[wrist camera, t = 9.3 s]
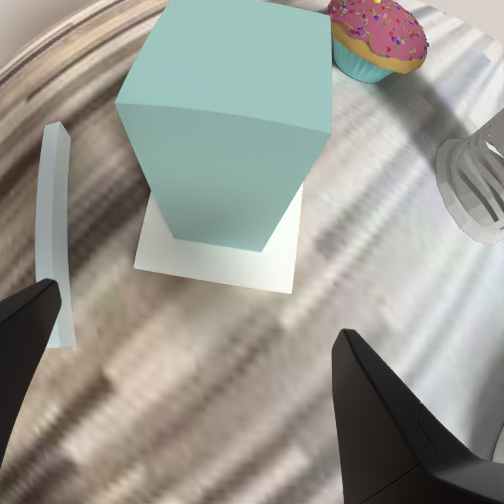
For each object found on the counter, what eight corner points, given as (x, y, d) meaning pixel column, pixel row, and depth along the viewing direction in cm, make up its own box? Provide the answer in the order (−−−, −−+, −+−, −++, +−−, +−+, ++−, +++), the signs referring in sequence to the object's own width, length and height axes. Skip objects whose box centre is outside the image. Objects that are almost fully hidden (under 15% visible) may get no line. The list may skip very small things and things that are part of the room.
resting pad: (290, 293, 18) (291, 293, 18) (134, 268, 18) (133, 267, 17) (304, 155, 20) (305, 153, 20) (168, 134, 20) (168, 131, 20)
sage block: (261, 252, 18) (331, 133, 7) (173, 238, 18) (114, 103, 6) (272, 174, 20) (330, 15, 8) (191, 161, 19) (174, -6, 8)
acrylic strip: (76, 345, 16) (60, 347, 14) (60, 347, 16) (43, 348, 14) (71, 137, 19) (60, 121, 17) (56, 141, 19) (44, 125, 17)
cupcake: (298, 67, 22) (340, -58, 11) (328, 23, 24) (366, -74, 13) (394, 117, 22) (475, 15, 11) (408, 64, 24) (466, -21, 13)
